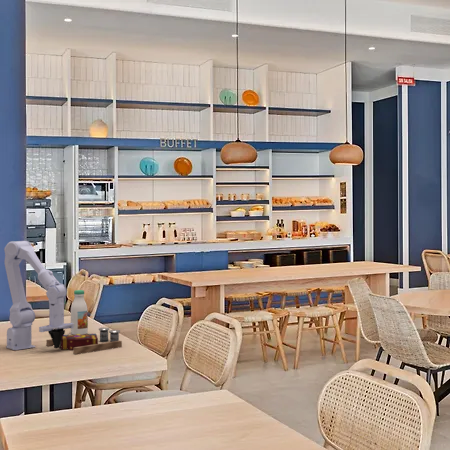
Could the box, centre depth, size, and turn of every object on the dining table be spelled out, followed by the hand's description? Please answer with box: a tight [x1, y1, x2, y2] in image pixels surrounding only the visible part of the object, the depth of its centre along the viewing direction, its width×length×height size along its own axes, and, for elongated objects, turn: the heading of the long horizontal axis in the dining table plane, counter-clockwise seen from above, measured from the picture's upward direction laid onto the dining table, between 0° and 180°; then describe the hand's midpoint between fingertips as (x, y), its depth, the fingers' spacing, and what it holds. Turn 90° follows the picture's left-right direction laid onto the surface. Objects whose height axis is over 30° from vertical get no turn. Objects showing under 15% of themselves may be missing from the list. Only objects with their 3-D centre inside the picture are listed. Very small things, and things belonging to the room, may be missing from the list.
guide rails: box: [46, 338, 123, 355], centre depth 282 cm, size 22×23×2 cm
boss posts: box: [98, 326, 121, 343], centre depth 290 cm, size 5×13×6 cm, turn 43°
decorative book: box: [59, 333, 99, 351], centre depth 280 cm, size 11×16×5 cm
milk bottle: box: [70, 289, 89, 335], centre depth 311 cm, size 8×8×20 cm
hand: (56, 347), depth 273 cm, fingers closed
